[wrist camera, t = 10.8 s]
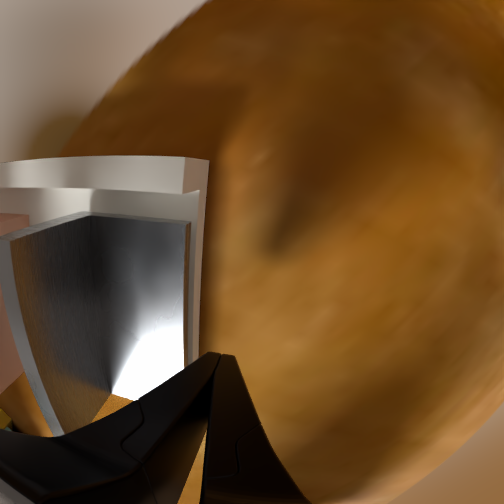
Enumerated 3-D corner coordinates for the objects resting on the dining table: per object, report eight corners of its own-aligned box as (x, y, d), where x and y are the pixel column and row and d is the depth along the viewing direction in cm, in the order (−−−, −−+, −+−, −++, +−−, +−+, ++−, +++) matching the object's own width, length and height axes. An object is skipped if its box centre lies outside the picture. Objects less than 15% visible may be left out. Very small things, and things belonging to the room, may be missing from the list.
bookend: (188, 404, 11) (159, 482, 7) (102, 380, 12) (57, 441, 8) (191, 221, 9) (125, 261, 5) (82, 210, 10) (-7, 238, 5)
